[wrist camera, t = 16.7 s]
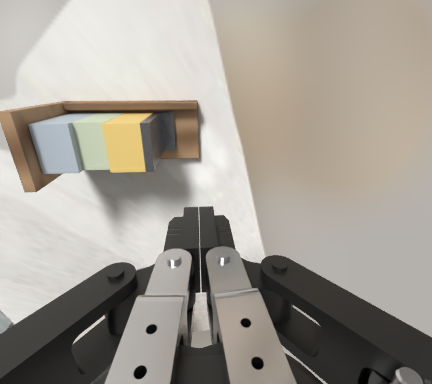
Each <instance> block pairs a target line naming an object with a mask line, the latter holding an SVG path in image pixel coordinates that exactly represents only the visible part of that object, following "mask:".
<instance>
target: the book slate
mask: <svg viewBox="0 0 432 384" xmlns="http://www.w3.org/2000/svg"><path fill="white" fill-rule="evenodd" d="M95 114H98V113H69V114H65V115H62V116H58V117H54V118H50V119H46V120H42V121H39V122H35V123H31V124H28V127H29V130H30V133H31V136H32V140H33V143H34V146H35V150H36V153H37V156H38V159H39V163H40V166H41V169H42V172H43V174H60V173H80V172H81V171H83V168H82V164H81V160H80V156H79V151H78V147H77V143H76V138H75V134H74V130H73V126H72V122H75V121H77V120H80V119H83V118H86V117H89V116H92V115H95Z"/></svg>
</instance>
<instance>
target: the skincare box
mask: <svg viewBox="0 0 432 384" xmlns="http://www.w3.org/2000/svg"><path fill="white" fill-rule="evenodd" d="M11 323H12V321H11V320H9V319H8V318H7V317H6V316H5V315H4V314H2V313H1V312H0V334H1V333H3V332H4V331H6V330H7V328H8V327H9V326H10V324H11Z"/></svg>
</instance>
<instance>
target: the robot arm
mask: <svg viewBox="0 0 432 384" xmlns="http://www.w3.org/2000/svg"><path fill="white" fill-rule="evenodd" d="M199 214H200V249H199V217H198V207H185V208H184V215H183V217H174V218H173V219H172V220H171V221H170V222H169V225H168V231H167V236H166V241H165V246H164V251H163V253H161V254H160V255H159V256H158V258H157V260H156V263H155V264H154V265H152V266H150V267H147V268H143V269H140V270H136V269H135V267H134V266H133V265H132V264H129V263H124V262H120V263H115V264H111V265H109V266H107V267H105V268H103V269H102V270H100V271H99V272H97V273H96V274H94V275H92V276H91V277H89V278H88V279H86V280H85V281H83V282H81V283H80V284H78V285H77V286H75V287H74V288H72V289H70V290H69V291H67V292H66V293H64V294H63V295H61V296H59V297H58V298H56V299H55V300H53V301H51V302H50V303H48V304H47V305H45V306H44V307H42V308H40V309H39V310H37V311H36V312H34V313H33V314H31V315H29V316H28V317H26V318H25V319H23V320H22V321H20V322H18V323H17V324H15V325H14V326H12V327H11V328H9V329H7V330H6V331H4V332H3V333H1V334H0V384H323V383H322V382H321V381H320V380H319V379H318V378H316V377H315V376H314V375H313V374H312V373H311V372H310V371H309V370H307V369H306V368H305V367H304V366H303V365H302V364H301V363H299V362H298V361H296V360H295V359H294V358H292V357H290V356H289V355H287V354H285V353H284V351H283V348H282V346H281V345H283V346H284V347H285V348H286V349H287V350H289V351H290V352H291V353H292V354H293V355H294V356H296V357H297V358H298V359H299V360H300V361H302V362H303V363H304V364H305V365H306V366H308V367H309V368H310V369H311V370H312V371H313V372H315V373H316V374H317V375H318V376H319V377H320V378H322V379H323V380H324V381H325V382H326V383H328V384H432V337H430V336H428V335H426V334H424V333H423V332H421V331H419V330H417V329H415V328H413V327H412V326H410V325H408V324H406V323H404V322H403V321H401V320H399V319H397V318H395V317H394V316H392V315H390V314H388V313H386V312H385V311H382V310H381V309H379V308H377V307H376V306H374V305H372V304H370V303H368V302H366V301H365V300H363V299H361V298H359V297H357V296H356V295H354V294H352V293H350V292H348V291H347V290H345V289H343V288H341V287H339V286H338V285H336V284H334V283H332V282H330V281H329V280H327V279H325V278H323V277H321V276H320V275H318V274H316V273H314V272H312V271H310V270H308V269H306V268H305V267H303V266H301V265H300V264H298V263H296V262H294V261H292V260H290V259H289V258H286V257H284V256H278V255H273V256H268V257H266V258H264V259H263V260H262V262H261V264H259V263H253V262H249V261H246V260H244V259H243V258H241V257H240V254H239V253H238V252H237V251H236V249H235V245H234V241H233V237H232V232H231V228H230V224H229V220H228V219H227V218H226V217H225V216H224V215H218V216H214V210H213V206H212V207H199ZM200 253H201V281H202V292H206V293H207V312H208V319H209V326H210V334H211V341H212V345H210V346H207V347H204V348H193V347H191V339H192V329H193V318H194V304H195V297H196V293H199V292H200ZM293 305H294V306H296V307H297V308H299V309H300V310H302V311H303V312H304V313H306V314H307V315H309V316H310V317H312V318H313V319H314V320H316V321H317V322H318V323H319V325H320V326H321V327H320V326H319V325H317V324H316V323H314V322H313V321H312V320H310V319H309V318H307V317H306V316H305V315H303V314H302V313H300V312H299V311H297V310H296V309H294V308H293ZM103 315H105V319H104V320H102V321H101V322H100V323H99V324H97V325H96V326H95V327H94V328H92V329H91V330H90V331H89V332H88V333H86V334H85V335H84V336H83V337H81V338H80V339H79V340H78V341H76V342H75V343H74V344H73V342H74V340H75V339H76V338H77V337H78V336H79V335H80V334H81V333H82V332H83V331H85V330H86V329H87V328H88V327H90V326H91V325H92V324H93V323H95V322H96V321H97V320H98V319H100V318H101V317H102V316H103ZM72 344H73V345H72Z"/></svg>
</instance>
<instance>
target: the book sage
mask: <svg viewBox="0 0 432 384" xmlns="http://www.w3.org/2000/svg"><path fill="white" fill-rule="evenodd" d="M124 113H126V112H111V113H98V114H95V115H92V116H89V117H86V118H83V119H80V120H77V121H75V122H72V126H73V130H74V134H75V138H76V143H77V147H78V151H79V156H80V160H81V164H82V168H83V170H110V167H109V161H108V156H107V151H106V145H105V140H104V135H103V129H102V123H105V122H107V121H109V120H111V119H113V118H115V117H118V116H120V115H122V114H124Z"/></svg>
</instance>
